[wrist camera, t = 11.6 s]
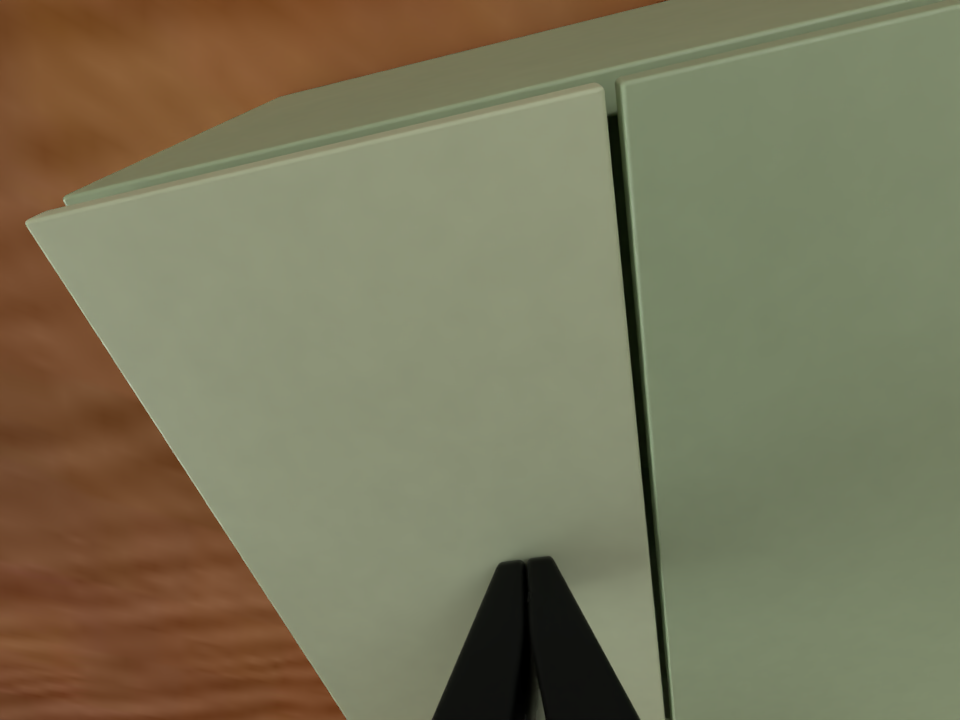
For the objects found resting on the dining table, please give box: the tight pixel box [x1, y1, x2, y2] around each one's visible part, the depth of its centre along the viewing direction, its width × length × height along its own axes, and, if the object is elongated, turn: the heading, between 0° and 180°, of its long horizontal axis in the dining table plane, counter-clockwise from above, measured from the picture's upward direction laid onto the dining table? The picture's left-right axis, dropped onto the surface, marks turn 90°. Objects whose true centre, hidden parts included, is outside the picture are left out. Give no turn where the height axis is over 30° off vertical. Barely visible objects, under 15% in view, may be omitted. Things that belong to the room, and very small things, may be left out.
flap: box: [25, 83, 665, 720], centre depth 10 cm, size 6×14×1 cm, turn 12°
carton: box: [63, 0, 960, 720], centre depth 13 cm, size 13×14×9 cm
